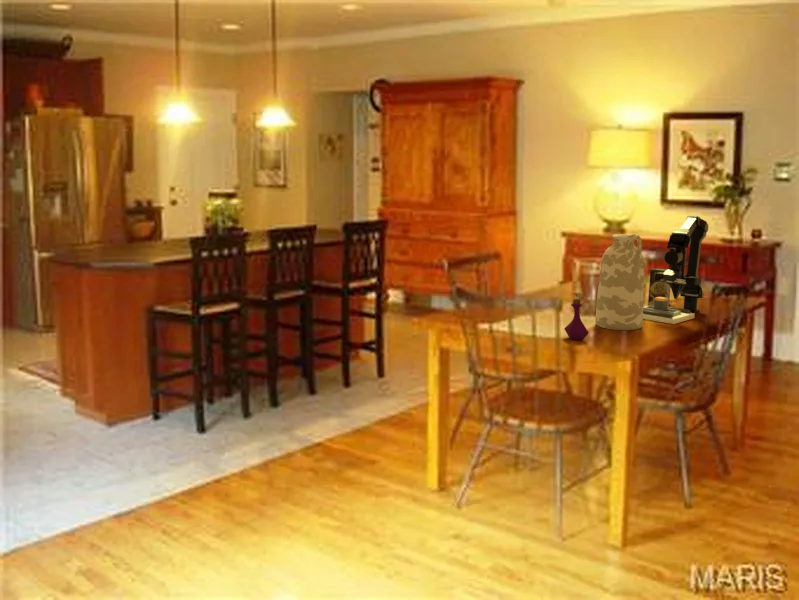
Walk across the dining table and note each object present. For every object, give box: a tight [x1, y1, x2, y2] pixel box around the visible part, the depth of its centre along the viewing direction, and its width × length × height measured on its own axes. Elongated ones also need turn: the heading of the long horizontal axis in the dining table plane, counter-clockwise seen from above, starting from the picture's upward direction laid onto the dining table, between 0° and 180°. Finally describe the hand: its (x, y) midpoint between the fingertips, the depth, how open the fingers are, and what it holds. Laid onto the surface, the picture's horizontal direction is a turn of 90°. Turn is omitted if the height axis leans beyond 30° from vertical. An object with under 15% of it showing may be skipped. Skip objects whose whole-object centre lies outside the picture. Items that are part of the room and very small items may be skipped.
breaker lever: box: [654, 297, 669, 311], centre depth 389 cm, size 4×4×6 cm
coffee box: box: [647, 267, 671, 306], centre depth 417 cm, size 9×6×16 cm
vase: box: [595, 233, 645, 331], centre depth 367 cm, size 20×19×38 cm
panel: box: [643, 304, 696, 325], centre depth 390 cm, size 18×22×4 cm
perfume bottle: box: [563, 292, 589, 341], centre depth 345 cm, size 8×8×18 cm
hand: (675, 298), depth 384 cm, fingers closed
